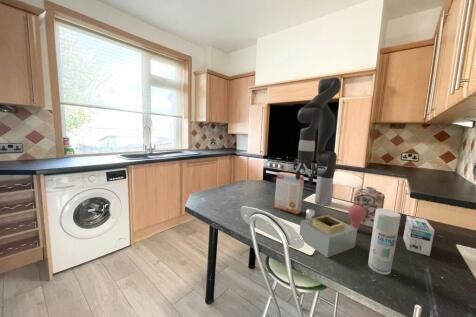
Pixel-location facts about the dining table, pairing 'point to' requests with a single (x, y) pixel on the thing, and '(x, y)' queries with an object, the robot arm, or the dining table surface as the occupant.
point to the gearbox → (328, 235)
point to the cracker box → (289, 192)
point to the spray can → (383, 240)
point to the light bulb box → (418, 235)
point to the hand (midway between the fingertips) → (303, 181)
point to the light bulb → (356, 215)
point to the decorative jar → (369, 203)
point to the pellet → (310, 213)
